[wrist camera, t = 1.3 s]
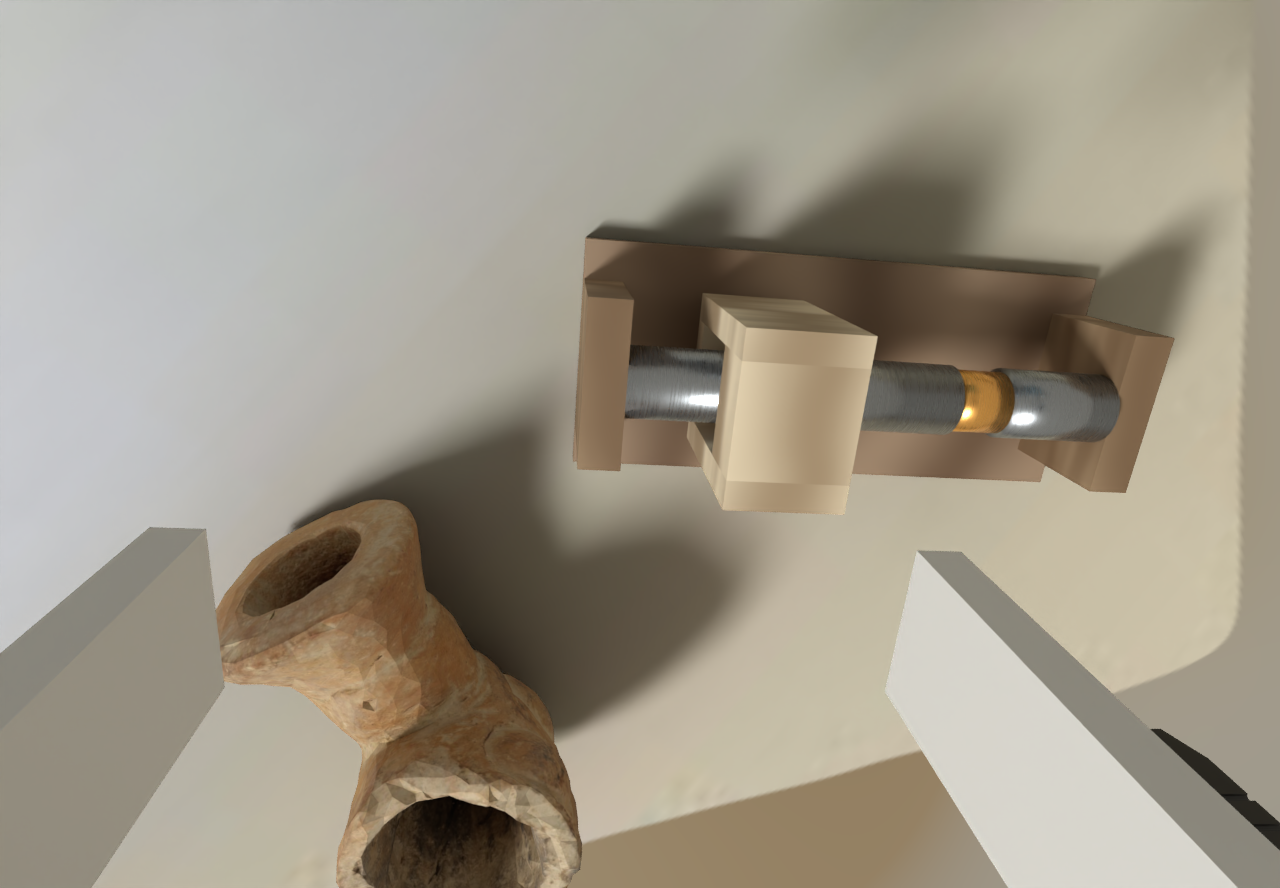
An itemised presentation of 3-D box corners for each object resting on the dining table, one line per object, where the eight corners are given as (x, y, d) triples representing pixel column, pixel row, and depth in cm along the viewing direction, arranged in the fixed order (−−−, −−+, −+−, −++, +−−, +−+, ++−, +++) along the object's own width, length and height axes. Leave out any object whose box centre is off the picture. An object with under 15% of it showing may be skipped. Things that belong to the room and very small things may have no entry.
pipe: (407, 451, 31) (341, 566, 22) (615, 709, 37) (634, 891, 27) (236, 561, 32) (100, 718, 23) (463, 798, 37) (430, 1004, 28)
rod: (618, 406, 28) (624, 427, 25) (624, 337, 27) (630, 353, 25) (1063, 430, 30) (1107, 452, 28) (1081, 367, 29) (1128, 383, 27)
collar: (686, 437, 30) (722, 509, 24) (702, 293, 28) (746, 327, 22) (782, 441, 31) (844, 514, 24) (804, 300, 29) (877, 336, 22)
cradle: (572, 454, 32) (575, 508, 27) (585, 237, 29) (590, 249, 24) (1029, 475, 34) (1114, 528, 29) (1083, 277, 32) (1187, 296, 26)
